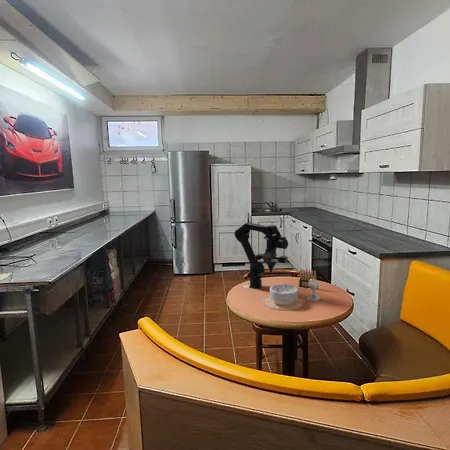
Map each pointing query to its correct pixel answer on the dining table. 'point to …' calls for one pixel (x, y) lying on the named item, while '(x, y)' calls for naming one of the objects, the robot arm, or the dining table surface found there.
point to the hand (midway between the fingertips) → (271, 272)
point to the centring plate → (273, 305)
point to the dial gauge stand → (313, 290)
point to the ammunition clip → (306, 278)
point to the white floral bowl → (283, 294)
